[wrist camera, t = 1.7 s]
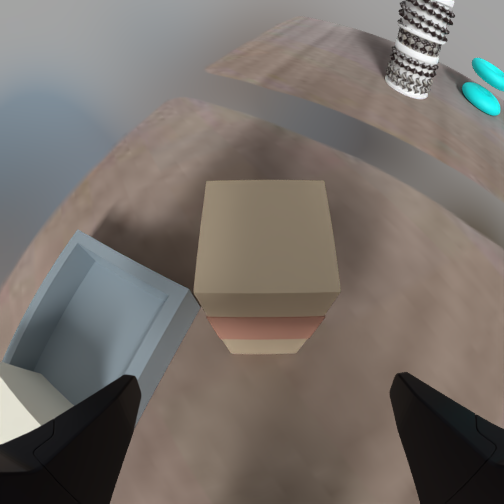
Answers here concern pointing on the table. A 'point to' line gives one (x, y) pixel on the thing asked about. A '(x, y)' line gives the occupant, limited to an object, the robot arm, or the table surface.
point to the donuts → (480, 94)
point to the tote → (101, 322)
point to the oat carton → (266, 263)
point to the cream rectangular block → (26, 401)
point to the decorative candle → (418, 46)
